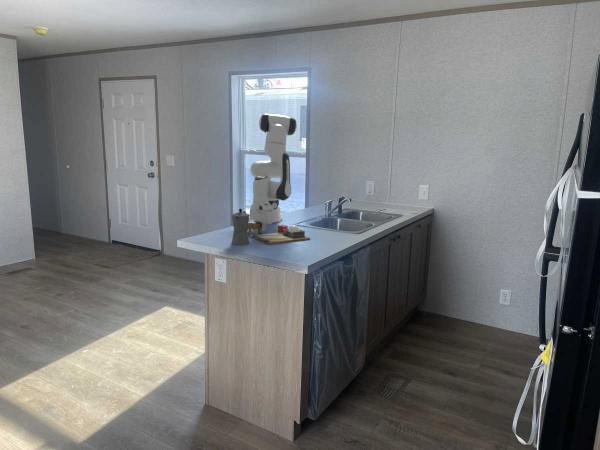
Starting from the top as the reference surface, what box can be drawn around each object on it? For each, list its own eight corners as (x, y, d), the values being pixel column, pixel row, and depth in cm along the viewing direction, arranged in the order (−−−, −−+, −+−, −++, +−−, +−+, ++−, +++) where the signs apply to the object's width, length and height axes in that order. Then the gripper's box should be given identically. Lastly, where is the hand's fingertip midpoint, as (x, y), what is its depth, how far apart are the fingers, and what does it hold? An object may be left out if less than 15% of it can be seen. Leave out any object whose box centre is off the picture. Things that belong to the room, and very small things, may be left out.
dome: (285, 234, 245) (286, 224, 243) (295, 233, 248) (295, 223, 247) (292, 237, 239) (292, 226, 238) (301, 235, 243) (302, 225, 242)
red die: (277, 232, 255) (277, 225, 254) (282, 231, 258) (282, 224, 257) (283, 233, 252) (283, 226, 251) (287, 232, 256) (287, 225, 255)
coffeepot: (245, 246, 221) (245, 211, 217) (227, 245, 222) (227, 210, 219) (253, 239, 236) (253, 206, 232) (236, 238, 237) (236, 205, 234)
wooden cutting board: (251, 237, 241) (251, 230, 240) (290, 232, 255) (290, 225, 254) (269, 245, 225) (269, 237, 225) (310, 239, 240) (310, 232, 239)
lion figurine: (264, 232, 255) (264, 216, 253) (268, 233, 250) (268, 218, 249) (240, 234, 248) (240, 218, 246) (244, 236, 243) (244, 220, 241)
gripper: (246, 203, 253) (246, 226, 256) (264, 208, 237) (264, 233, 240) (256, 202, 257) (256, 225, 260) (274, 207, 241) (274, 232, 243)
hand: (260, 229), depth 250 cm, fingers closed on lion figurine, 4 cm apart
